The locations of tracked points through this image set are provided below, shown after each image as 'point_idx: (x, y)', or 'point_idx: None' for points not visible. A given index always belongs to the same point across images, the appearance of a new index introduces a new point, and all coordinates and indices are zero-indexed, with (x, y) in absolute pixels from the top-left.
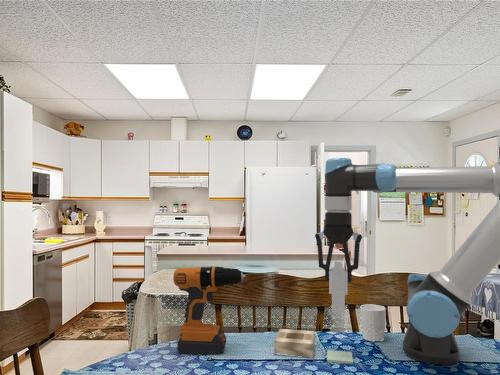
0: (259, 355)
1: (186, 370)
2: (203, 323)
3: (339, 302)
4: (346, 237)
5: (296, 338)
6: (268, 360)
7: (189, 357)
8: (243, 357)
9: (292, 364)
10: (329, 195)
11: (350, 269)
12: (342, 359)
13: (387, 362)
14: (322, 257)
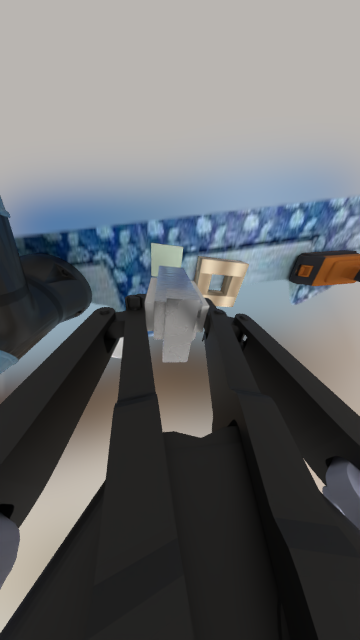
0: (257, 257)
1: (355, 196)
2: (339, 280)
3: (170, 271)
4: (84, 604)
5: (213, 293)
6: (250, 242)
7: (335, 241)
8: (276, 249)
9: (225, 232)
10: None
11: (130, 302)
12: (164, 249)
13: (108, 254)
14: (256, 339)
